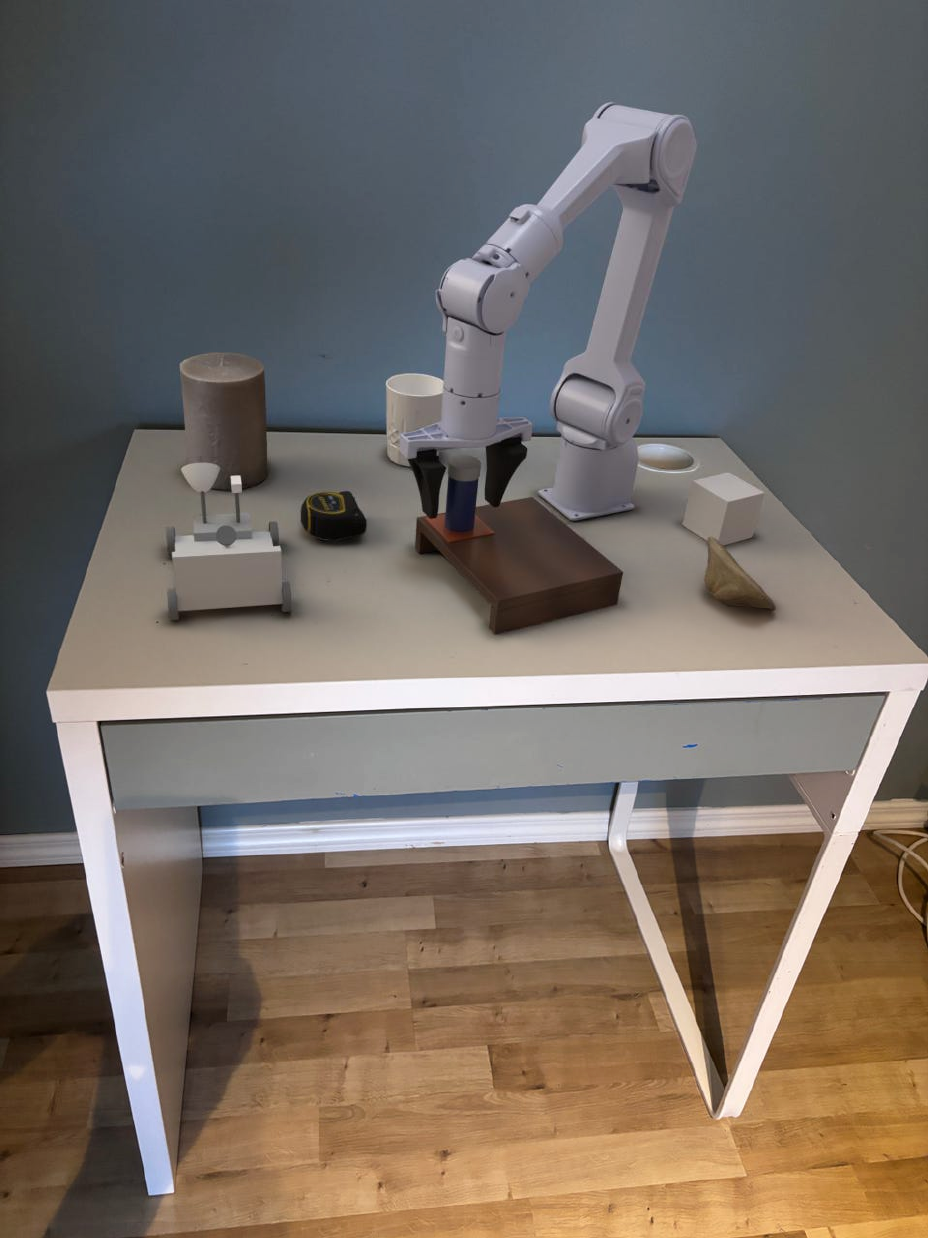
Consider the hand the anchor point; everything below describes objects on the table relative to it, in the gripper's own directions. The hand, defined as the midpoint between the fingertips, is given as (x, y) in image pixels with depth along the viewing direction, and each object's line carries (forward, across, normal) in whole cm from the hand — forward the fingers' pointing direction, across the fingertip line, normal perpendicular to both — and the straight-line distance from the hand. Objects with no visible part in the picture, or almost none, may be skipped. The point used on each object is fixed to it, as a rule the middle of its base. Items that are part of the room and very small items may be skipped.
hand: (461, 508), depth 106 cm
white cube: (+6, -33, +6) cm, 34 cm away
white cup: (+6, -7, -26) cm, 27 cm away
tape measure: (+6, +10, -10) cm, 16 cm away
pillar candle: (+6, +17, -28) cm, 34 cm away
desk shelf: (+6, -4, +6) cm, 9 cm away
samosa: (+6, -24, +18) cm, 31 cm away
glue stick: (+2, 0, 0) cm, 2 cm away
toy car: (+6, +24, -6) cm, 26 cm away
